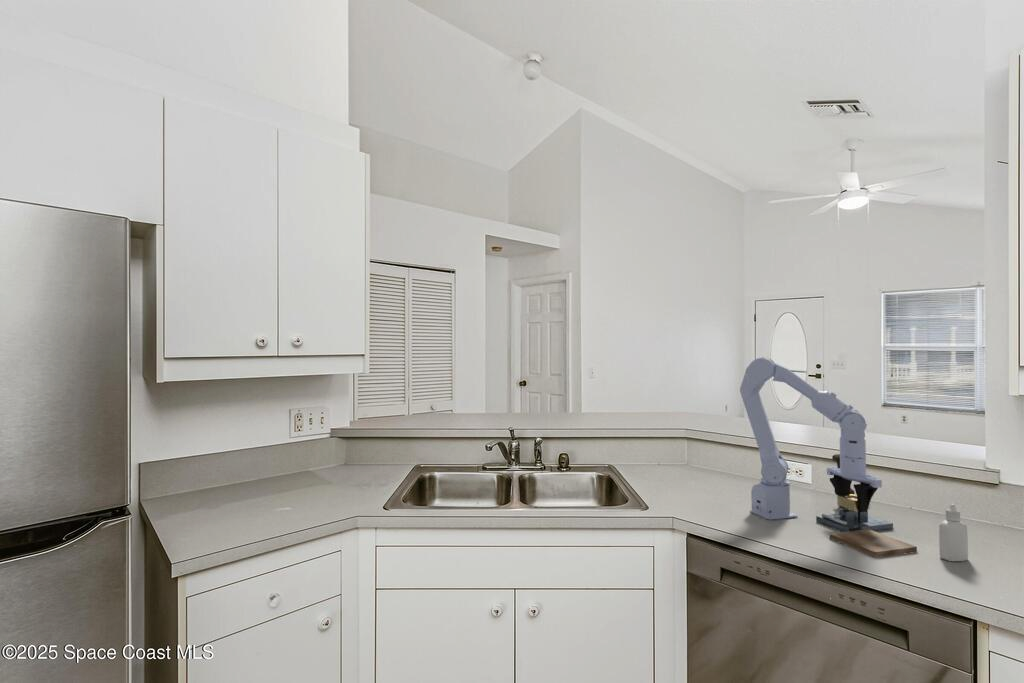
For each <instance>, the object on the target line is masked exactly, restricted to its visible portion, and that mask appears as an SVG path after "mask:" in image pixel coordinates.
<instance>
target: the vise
mask: <svg viewBox="0 0 1024 683" xmlns="http://www.w3.org/2000/svg"><path fill="white" fill-rule="evenodd" d="M851 499H857V498H851ZM868 510H869V509H868ZM868 510H867V512H859V510H855V511H854V510H851V509H848V508H844V509H839V513H832V514H826V513H822V514H821V515H816V517H815V519H816V520H815V521H816V523H819V524H822V525H824V526H827V527H829V528H831V527H832V528H831V529H834V528H835V529H834V530H836V531H839V530H840V531H839V532H848V531H857V530H865V529H870V530H872V531H875V532H880V531H882V530H883V531H889V530H894V522H890V521H887V520H885V519H882V518H878V517H875V516H872V515H869V512H868Z"/></svg>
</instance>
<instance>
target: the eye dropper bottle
mask: <svg viewBox="0 0 1024 683" xmlns="http://www.w3.org/2000/svg"><path fill="white" fill-rule="evenodd" d="M938 529H939V530H938V532H939V533H938V534H939V537H938V539H939V544H938V545H939V558H940V559H943V560H944V561H947V560H948V562H951V561H962V562H965V561H967V560H968V559H969V541H968V539H969V538H968V526H967V524H966V523H965V522H962V521H961V511H960V510H958V509H957V508H956V504H954V503H950V506H949V508H946V509H945V519H944V520H943V521H941V522H940V523H939V527H938Z"/></svg>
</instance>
